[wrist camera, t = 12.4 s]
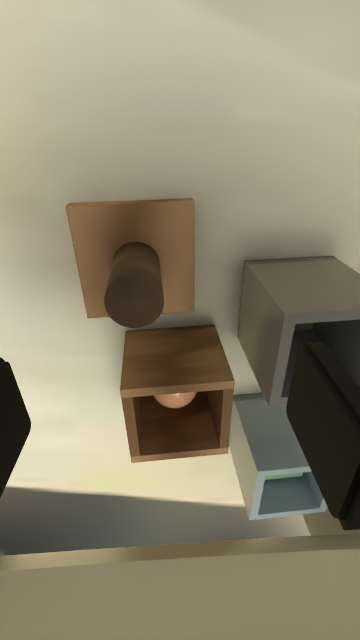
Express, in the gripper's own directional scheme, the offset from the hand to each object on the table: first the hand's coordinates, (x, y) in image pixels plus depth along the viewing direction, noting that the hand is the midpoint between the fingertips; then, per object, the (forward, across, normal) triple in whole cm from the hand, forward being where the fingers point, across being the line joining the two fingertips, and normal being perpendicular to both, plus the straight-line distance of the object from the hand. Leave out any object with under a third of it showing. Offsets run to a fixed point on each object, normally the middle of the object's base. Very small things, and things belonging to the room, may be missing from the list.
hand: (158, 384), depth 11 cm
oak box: (+12, 0, +8) cm, 14 cm away
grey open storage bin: (+12, -8, +3) cm, 15 cm away
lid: (+12, +1, 0) cm, 12 cm away
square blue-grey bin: (+12, -8, +15) cm, 21 cm away
